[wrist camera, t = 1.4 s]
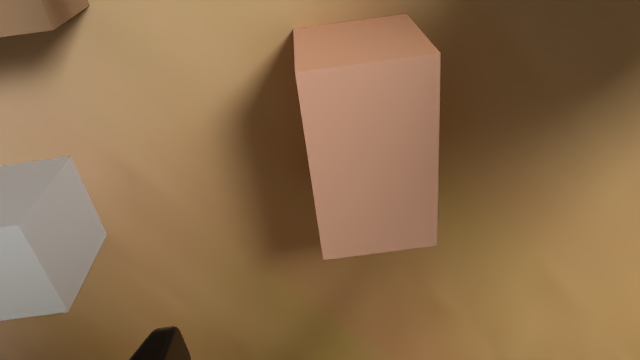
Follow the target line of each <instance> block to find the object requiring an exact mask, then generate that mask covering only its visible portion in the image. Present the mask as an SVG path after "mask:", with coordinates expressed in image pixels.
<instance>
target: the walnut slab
mask: <svg viewBox="0 0 640 360" xmlns="http://www.w3.org/2000/svg"><path fill="white" fill-rule="evenodd" d="M88 6H90V5H89V3H88V0H0V37H6V36H14V35H21V34H29V33H36V32H44V31H51V30H54V29H56V28H57V27H59V26H60V25H62V24H63V23H65V22H66V21H68V20H69V19H70V18H72V17H73V16H75V15H76V14H78V13H79V12H81V11H82V10H84V9H85V8H87V7H88Z"/></svg>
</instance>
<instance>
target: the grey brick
mask: <svg viewBox="0 0 640 360" xmlns="http://www.w3.org/2000/svg"><path fill="white" fill-rule="evenodd" d="M106 236H107V234H106V231H105V229H104V227H103V225H102V223H101V221H100V218H99V216H98V214H97V212H96V210H95V208H94V205H93V203H92V201H91V199H90V197H89V195H88V192H87V190H86V188H85V186H84V184H83V182H82V180H81V177H80V175H79V173H78V171H77V169H76V167H75V164H74V162H73V160H72V158H71V156H69V157H61V158H54V159H47V160H39V161H32V162H25V163H17V164H10V165H3V166H0V321H2V320H10V319H18V318H26V317H33V316H41V315H49V314H56V313H64V312H69V310H70V308H71V306H72V304H73V302H74V300H75V298H76V296H77V294H78V292H79V290H80V288H81V286H82V284H83V282H84V280H85V278H86V276H87V274H88V272H89V270H90V268H91V266H92V264H93V262H94V260H95V258H96V256H97V254H98V252H99V250H100V248H101V246H102V244H103V242H104V240H105V238H106Z"/></svg>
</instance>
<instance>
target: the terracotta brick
mask: <svg viewBox="0 0 640 360" xmlns="http://www.w3.org/2000/svg"><path fill="white" fill-rule="evenodd" d="M293 34H294V60H295V76H296V83H297V89H298V96H299V103H300V109H301V116H302V123H303V129H304V136H305V143H306V149H307V156H308V162H309V169H310V176H311V182H312V189H313V196H314V202H315V209H316V216H317V222H318V229H319V235H320V242H321V249H322V255H323V260H328V259H336V258H344V257H352V256H360V255H367V254H375V253H383V252H391V251H399V250H407V249H415V248H422V247H430V246H437V228H438V173H439V118H440V64H441V53H440V52H439V51H438V50H437V48H436V47H435V46H434V45H433V44H432V43H431V41H430V40H429V39H428V38H427V37H426V36H425V34H424V33H423V32H422V31H421V30H420V28H419V27H418V26H417V25H416V24H415V23H414V21H413V20H412V19H411V18H410V17H409V16H408V14H400V15H393V16H385V17H378V18H371V19H363V20H356V21H348V22H341V23H333V24H326V25H319V26H311V27H304V28H296V29H293Z"/></svg>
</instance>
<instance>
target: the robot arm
mask: <svg viewBox="0 0 640 360" xmlns="http://www.w3.org/2000/svg"><path fill="white" fill-rule="evenodd" d="M129 360H191V358H190V354H189V351H188V349H187V347H186V344H185V342H184V339H183V337H182V335H181V332H180V330H179V329H178V328H177V327H174V326H173V327H165V328H158V329H155V330H154V331H152V332H151V333H150V335H149V336H148V337H147V338H146V339H145V341H144V342H143V343H142V344H141V346H140V347H139V348H138V349H137V350H136V352H135V353H134V354H133V355H132V357H131V358H130V359H129Z"/></svg>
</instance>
